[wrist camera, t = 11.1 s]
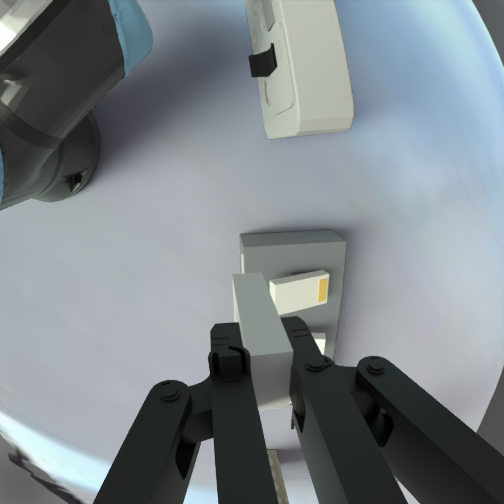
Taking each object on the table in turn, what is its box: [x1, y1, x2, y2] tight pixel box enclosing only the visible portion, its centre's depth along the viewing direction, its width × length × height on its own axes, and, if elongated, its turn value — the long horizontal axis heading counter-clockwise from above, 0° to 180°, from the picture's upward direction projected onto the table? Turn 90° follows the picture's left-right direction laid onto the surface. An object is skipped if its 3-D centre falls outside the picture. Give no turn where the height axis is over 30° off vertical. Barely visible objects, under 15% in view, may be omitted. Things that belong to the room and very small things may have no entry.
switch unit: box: [240, 230, 346, 406], centre depth 48 cm, size 15×30×7 cm, turn 1°
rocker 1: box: [270, 270, 329, 315], centre depth 40 cm, size 8×4×2 cm, turn 91°
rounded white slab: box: [244, 0, 354, 139], centre depth 28 cm, size 29×8×18 cm, turn 8°
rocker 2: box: [311, 333, 326, 355], centre depth 43 cm, size 8×4×2 cm, turn 91°
